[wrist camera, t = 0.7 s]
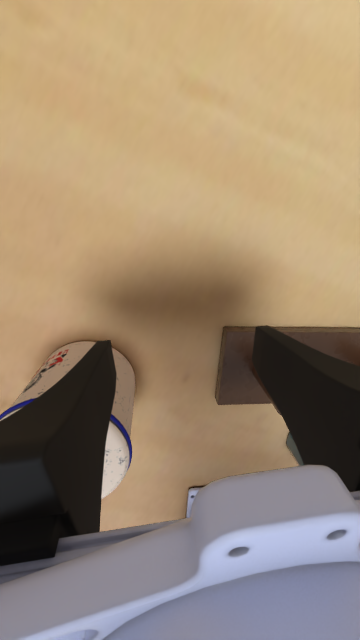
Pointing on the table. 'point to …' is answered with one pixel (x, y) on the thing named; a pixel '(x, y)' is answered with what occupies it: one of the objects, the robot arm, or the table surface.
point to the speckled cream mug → (121, 416)
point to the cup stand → (241, 376)
